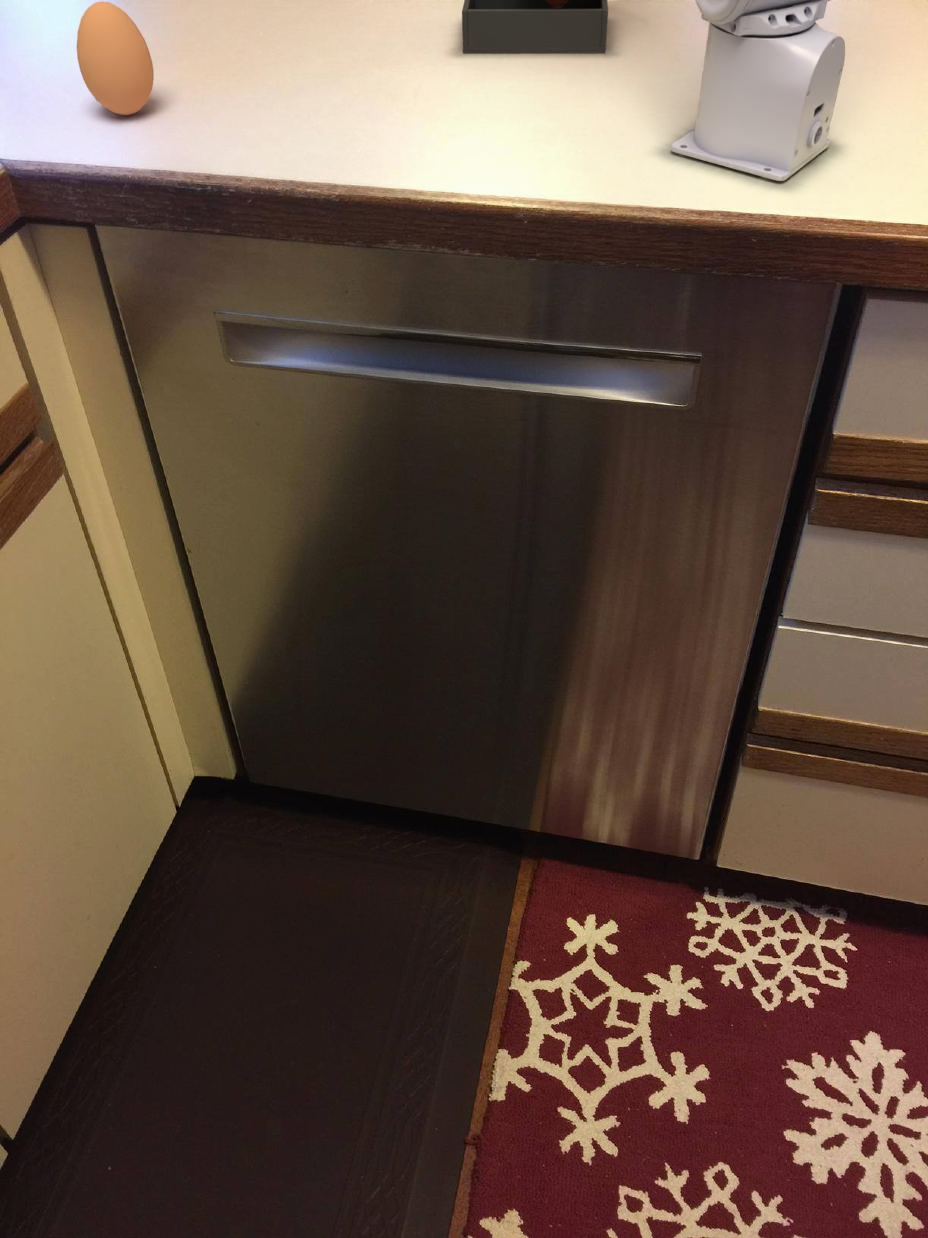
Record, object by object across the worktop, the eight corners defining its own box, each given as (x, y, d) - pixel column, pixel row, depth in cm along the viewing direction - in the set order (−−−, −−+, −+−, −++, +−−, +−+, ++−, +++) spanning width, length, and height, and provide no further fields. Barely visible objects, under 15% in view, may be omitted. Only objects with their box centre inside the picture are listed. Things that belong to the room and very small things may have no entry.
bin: (603, 21, 99) (606, -20, 97) (605, 52, 93) (608, 10, 91) (469, 22, 100) (468, -19, 98) (462, 53, 94) (461, 10, 92)
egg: (83, 110, 87) (52, 0, 81) (147, 94, 89) (122, -15, 83) (107, 132, 84) (76, 19, 78) (173, 115, 86) (148, 3, 80)
